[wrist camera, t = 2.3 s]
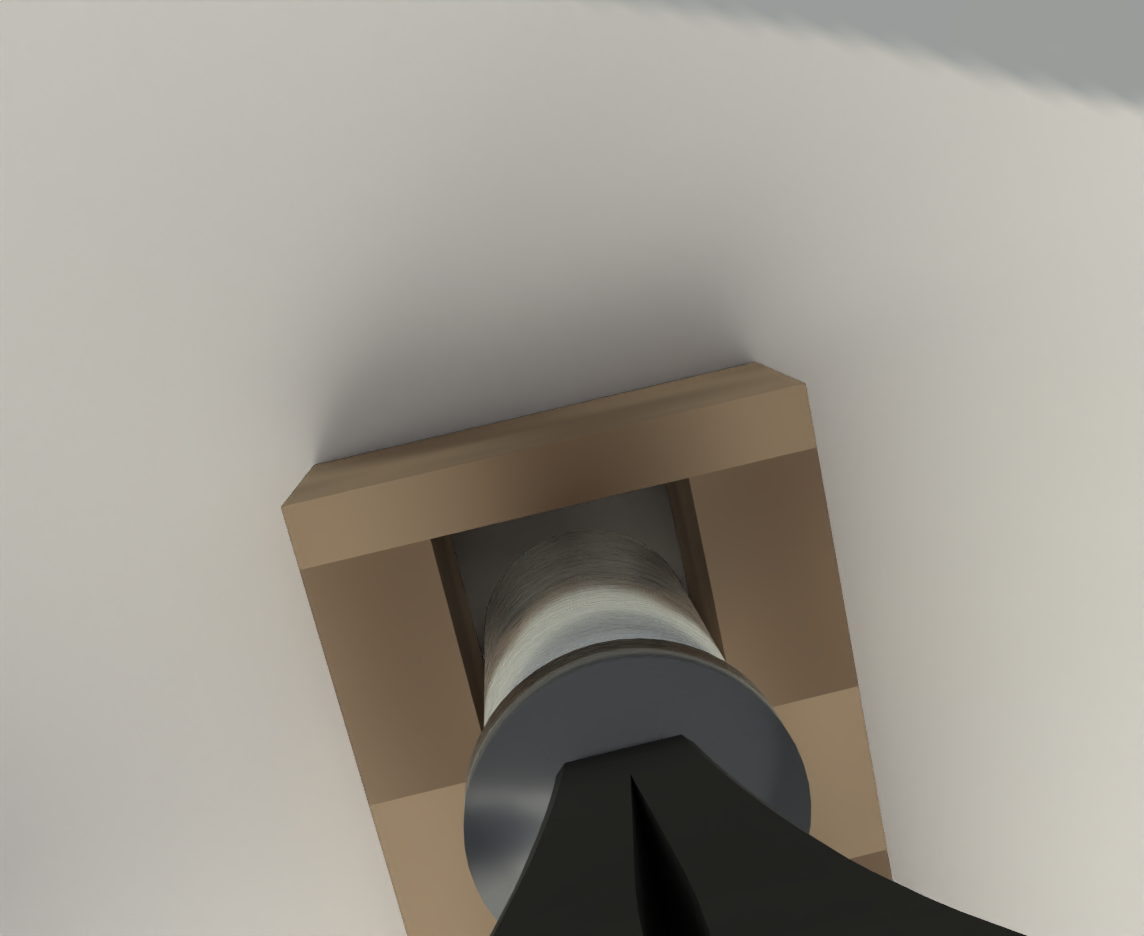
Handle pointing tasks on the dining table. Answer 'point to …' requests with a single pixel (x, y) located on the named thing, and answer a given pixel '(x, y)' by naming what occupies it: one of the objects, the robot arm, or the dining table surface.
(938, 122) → the dining table surface
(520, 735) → the plunger
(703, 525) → the jig
